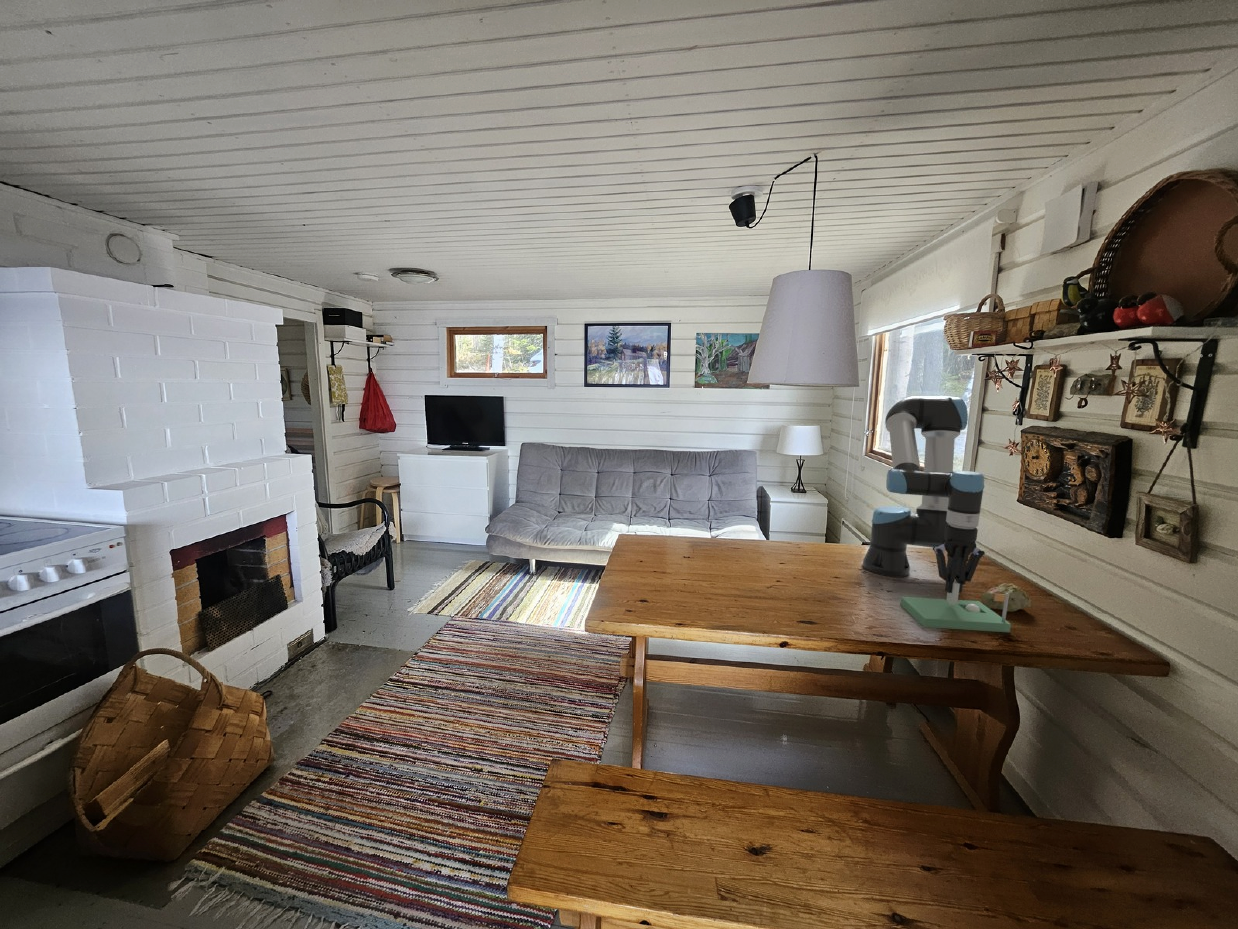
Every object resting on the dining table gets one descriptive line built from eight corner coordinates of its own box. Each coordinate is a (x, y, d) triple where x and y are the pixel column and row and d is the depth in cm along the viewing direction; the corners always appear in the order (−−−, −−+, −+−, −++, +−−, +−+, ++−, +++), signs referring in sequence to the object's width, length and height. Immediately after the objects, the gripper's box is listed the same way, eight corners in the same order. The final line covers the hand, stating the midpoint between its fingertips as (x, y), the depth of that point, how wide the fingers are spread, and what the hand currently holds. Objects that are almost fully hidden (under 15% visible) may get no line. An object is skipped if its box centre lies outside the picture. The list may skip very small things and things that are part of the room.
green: (900, 604, 144) (903, 572, 142) (977, 608, 141) (981, 576, 139) (923, 626, 130) (927, 591, 128) (1009, 632, 127) (1015, 596, 125)
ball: (960, 605, 137) (971, 599, 137) (966, 614, 138) (976, 608, 137) (968, 612, 134) (979, 605, 133) (974, 620, 134) (985, 614, 134)
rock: (991, 623, 142) (980, 597, 140) (980, 606, 149) (970, 581, 148) (1038, 615, 137) (1027, 587, 135) (1024, 597, 144) (1013, 571, 143)
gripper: (944, 528, 129) (934, 607, 133) (995, 530, 128) (984, 610, 132) (930, 520, 137) (921, 596, 141) (977, 522, 135) (967, 598, 139)
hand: (951, 602), depth 136 cm, fingers closed
